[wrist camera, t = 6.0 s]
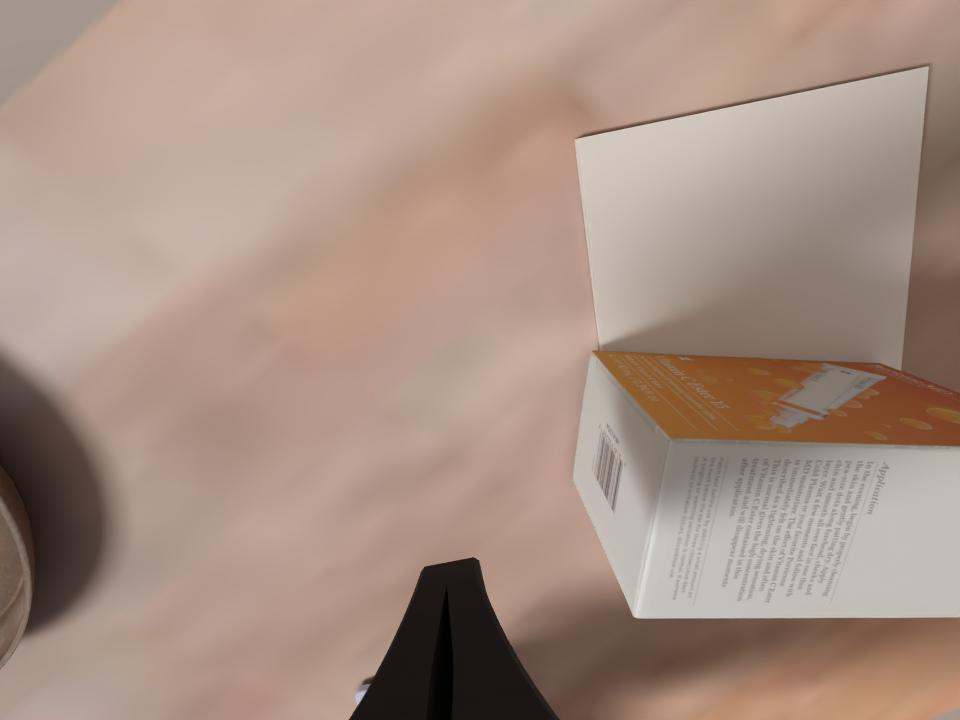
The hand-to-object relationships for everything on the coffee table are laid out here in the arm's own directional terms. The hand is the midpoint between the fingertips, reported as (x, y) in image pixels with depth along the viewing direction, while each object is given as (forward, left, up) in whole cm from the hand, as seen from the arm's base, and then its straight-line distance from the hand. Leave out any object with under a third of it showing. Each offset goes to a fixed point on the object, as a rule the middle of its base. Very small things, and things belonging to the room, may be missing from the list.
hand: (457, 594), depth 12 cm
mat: (0, -13, -10) cm, 17 cm away
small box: (-1, -5, -6) cm, 8 cm away
